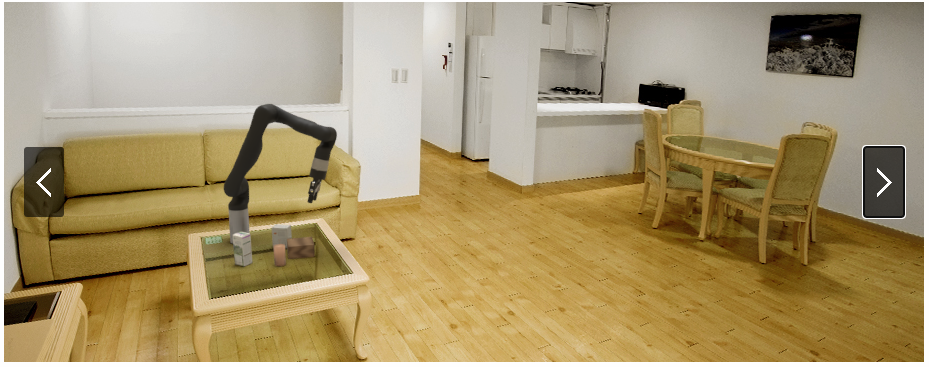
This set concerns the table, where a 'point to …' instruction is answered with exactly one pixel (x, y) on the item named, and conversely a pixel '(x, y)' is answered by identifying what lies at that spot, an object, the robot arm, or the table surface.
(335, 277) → the table surface
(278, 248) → the terracotta cylinder
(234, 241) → the syrup box
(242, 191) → the robot arm
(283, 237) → the small box
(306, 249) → the walnut block
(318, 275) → the table surface
